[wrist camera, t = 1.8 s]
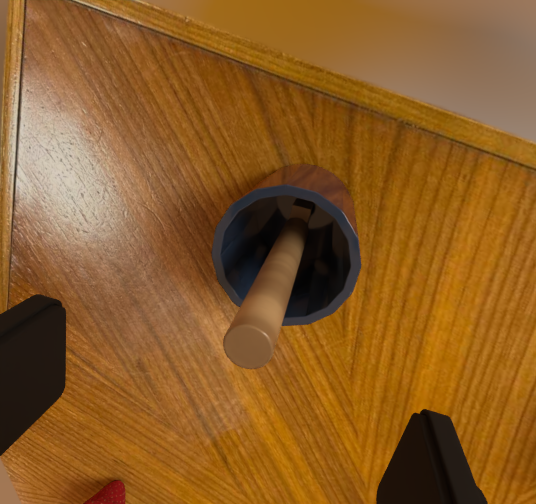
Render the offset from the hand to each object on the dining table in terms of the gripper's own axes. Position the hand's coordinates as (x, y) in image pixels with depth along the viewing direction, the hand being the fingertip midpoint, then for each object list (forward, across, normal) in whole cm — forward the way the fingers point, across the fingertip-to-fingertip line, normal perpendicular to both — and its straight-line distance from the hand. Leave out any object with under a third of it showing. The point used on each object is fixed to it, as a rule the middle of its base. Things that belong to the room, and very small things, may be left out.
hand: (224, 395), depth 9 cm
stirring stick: (+18, 0, 0) cm, 18 cm away
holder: (+18, 0, 0) cm, 18 cm away
